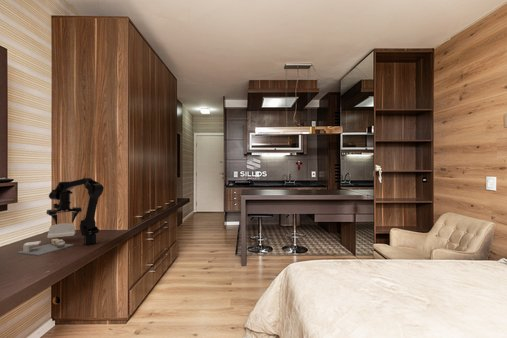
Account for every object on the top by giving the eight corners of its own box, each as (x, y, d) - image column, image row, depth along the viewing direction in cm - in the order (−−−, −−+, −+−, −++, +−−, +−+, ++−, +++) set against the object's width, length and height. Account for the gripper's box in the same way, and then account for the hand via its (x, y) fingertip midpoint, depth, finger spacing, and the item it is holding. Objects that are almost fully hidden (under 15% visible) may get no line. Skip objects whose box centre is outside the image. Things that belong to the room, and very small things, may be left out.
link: (65, 246, 167) (65, 241, 167) (58, 247, 164) (58, 243, 164) (57, 242, 176) (57, 238, 176) (49, 243, 173) (49, 239, 173)
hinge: (46, 238, 192) (47, 224, 195) (48, 238, 196) (49, 225, 199) (74, 235, 199) (75, 221, 202) (75, 236, 203) (76, 222, 206)
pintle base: (73, 245, 172) (73, 237, 172) (39, 255, 152) (38, 247, 152) (52, 243, 177) (52, 236, 177) (16, 253, 157) (16, 244, 157)
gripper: (75, 198, 193) (75, 219, 193) (43, 200, 178) (43, 224, 178) (82, 199, 186) (81, 222, 186) (49, 202, 171) (49, 226, 171)
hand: (64, 223), depth 181 cm, fingers open, 9 cm apart
